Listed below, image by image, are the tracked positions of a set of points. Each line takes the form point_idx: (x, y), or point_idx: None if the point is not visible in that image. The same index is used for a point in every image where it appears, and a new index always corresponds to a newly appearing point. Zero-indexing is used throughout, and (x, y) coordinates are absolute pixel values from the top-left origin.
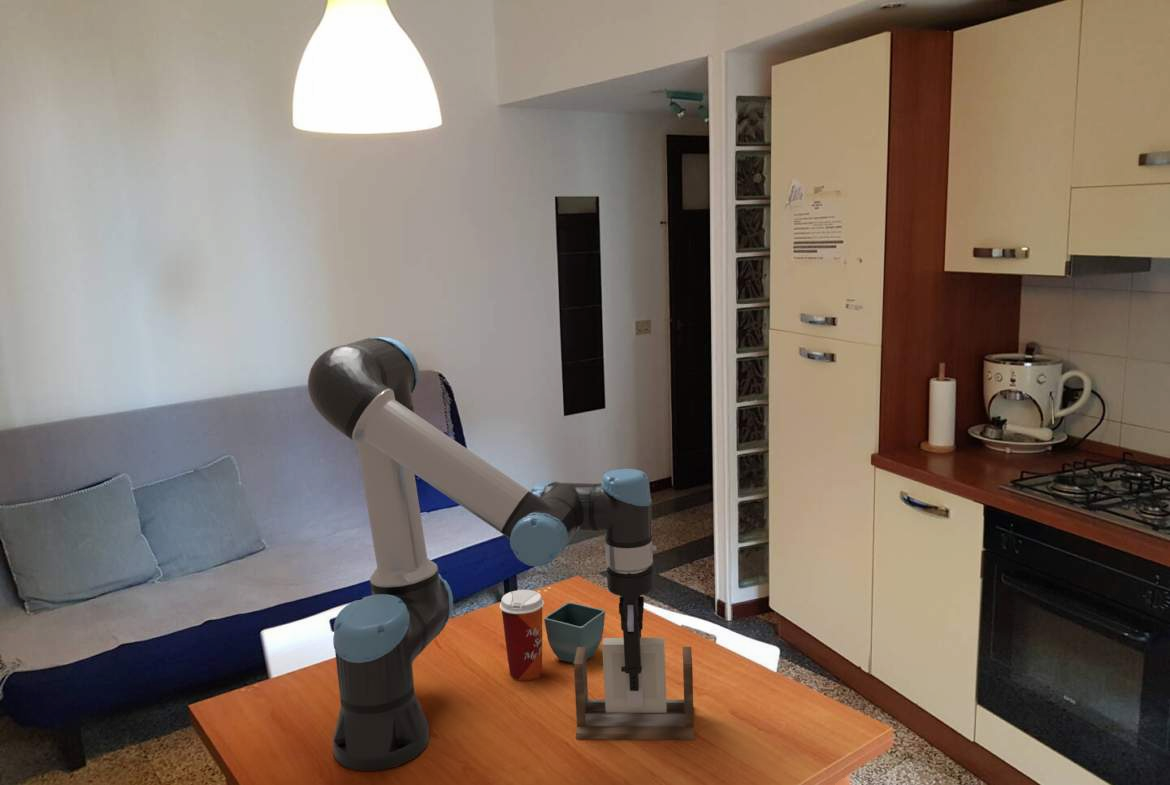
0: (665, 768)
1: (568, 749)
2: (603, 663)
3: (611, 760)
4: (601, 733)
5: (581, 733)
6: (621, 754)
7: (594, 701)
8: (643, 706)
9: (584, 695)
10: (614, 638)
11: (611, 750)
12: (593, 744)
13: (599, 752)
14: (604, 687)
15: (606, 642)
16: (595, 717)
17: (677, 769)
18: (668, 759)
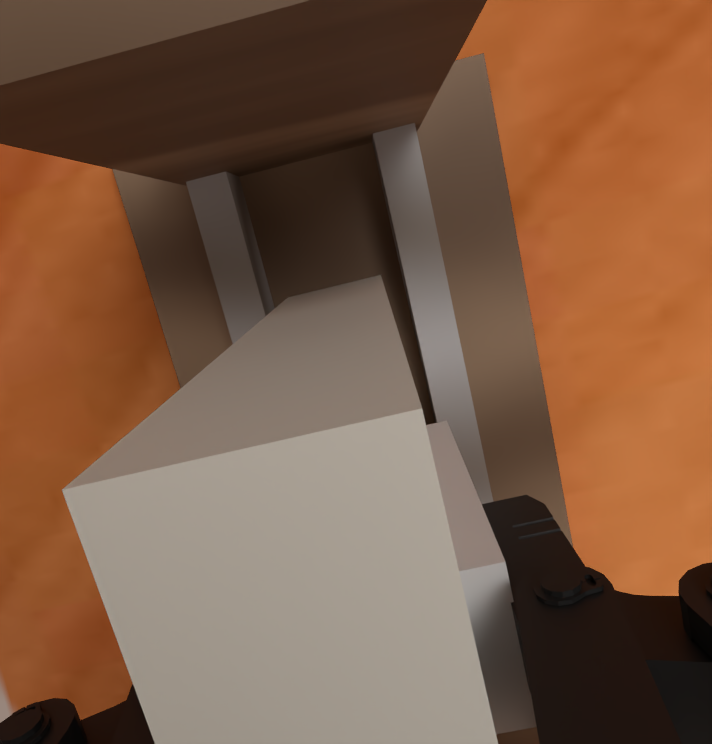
0: (39, 651)
1: (12, 148)
2: (194, 379)
3: (5, 406)
4: (156, 306)
5: (119, 188)
6: (71, 439)
7: (396, 180)
8: None
9: (159, 161)
10: (458, 662)
11: (87, 382)
12: (106, 272)
13: (48, 327)
14: (259, 322)
15: (209, 547)
16: (208, 251)
17: (51, 697)
18: (110, 649)
